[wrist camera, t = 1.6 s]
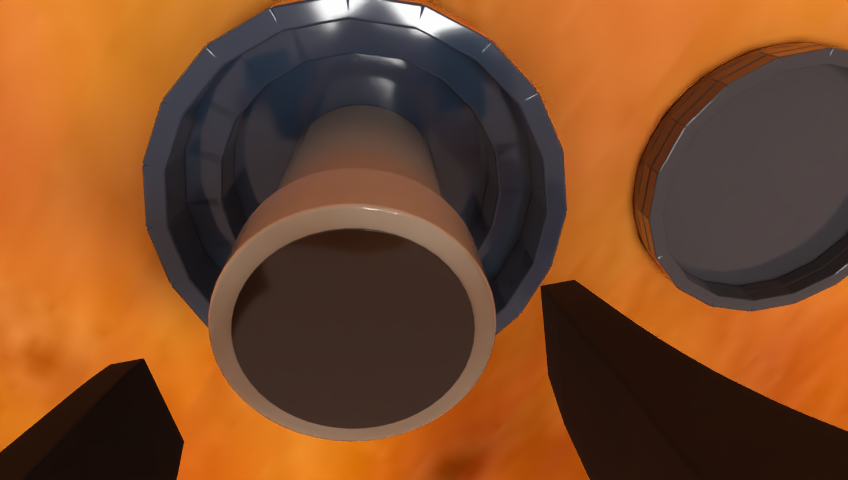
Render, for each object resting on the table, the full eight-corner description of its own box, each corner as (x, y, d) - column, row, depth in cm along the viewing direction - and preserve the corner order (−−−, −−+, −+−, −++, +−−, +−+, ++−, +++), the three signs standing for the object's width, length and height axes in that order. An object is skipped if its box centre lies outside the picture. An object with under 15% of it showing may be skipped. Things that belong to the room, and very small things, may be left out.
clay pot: (457, 235, 21) (510, 418, 13) (302, 263, 21) (256, 464, 13) (433, 76, 18) (479, 179, 10) (256, 109, 18) (161, 237, 10)
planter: (543, 284, 22) (575, 347, 19) (247, 338, 23) (223, 411, 19) (515, -48, 17) (551, -46, 14) (130, 24, 17) (66, 44, 14)
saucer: (868, 265, 23) (898, 285, 22) (631, 308, 23) (647, 331, 22) (920, 18, 19) (961, 23, 18) (630, 71, 19) (650, 80, 18)
